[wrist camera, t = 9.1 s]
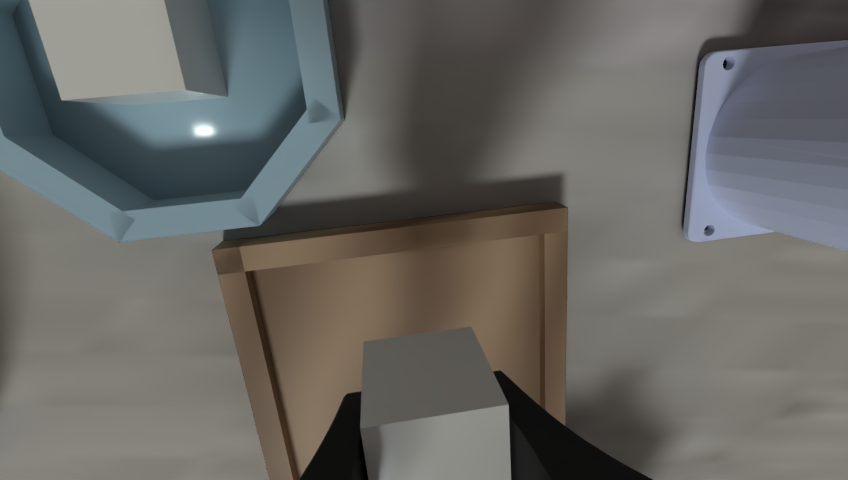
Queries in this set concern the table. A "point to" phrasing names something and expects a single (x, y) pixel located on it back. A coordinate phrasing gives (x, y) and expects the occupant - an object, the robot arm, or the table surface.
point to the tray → (390, 310)
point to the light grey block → (130, 50)
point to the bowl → (177, 127)
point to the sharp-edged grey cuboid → (433, 409)
